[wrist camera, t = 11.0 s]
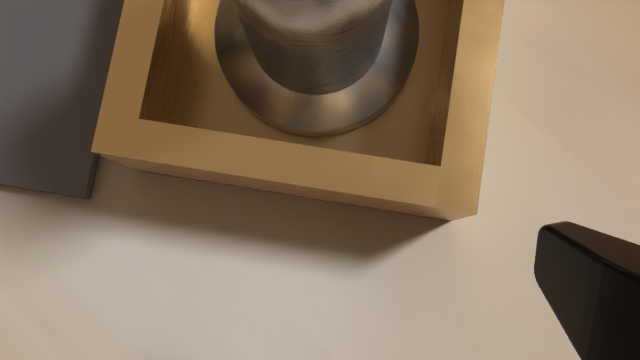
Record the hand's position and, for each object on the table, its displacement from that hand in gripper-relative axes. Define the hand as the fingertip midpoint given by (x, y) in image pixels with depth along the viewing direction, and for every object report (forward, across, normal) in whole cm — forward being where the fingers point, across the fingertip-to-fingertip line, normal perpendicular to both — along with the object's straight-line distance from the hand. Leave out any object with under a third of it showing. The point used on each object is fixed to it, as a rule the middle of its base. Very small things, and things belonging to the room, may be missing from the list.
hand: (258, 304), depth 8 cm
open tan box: (+13, -4, 0) cm, 14 cm away
